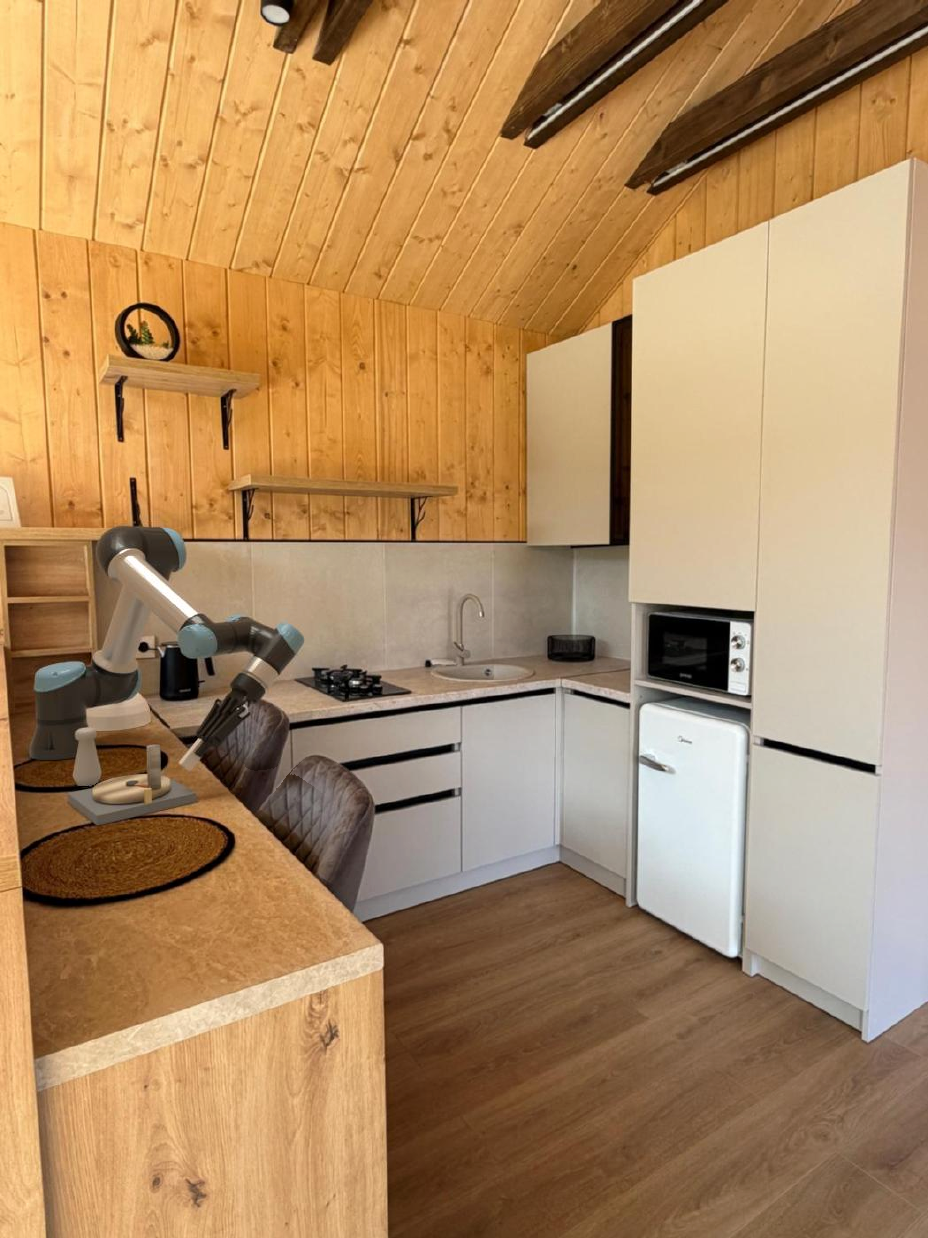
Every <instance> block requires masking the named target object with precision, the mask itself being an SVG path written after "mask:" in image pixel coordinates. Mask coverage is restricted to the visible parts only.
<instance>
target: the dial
mask: <svg viewBox="0 0 928 1238" xmlns="http://www.w3.org/2000/svg"><path fill="white" fill-rule="evenodd" d="M161 764H162V763H161V745H160V744H150V745H147V746H146V773H142V774H141V773H140V774H137V773H136V774H128V775H123V776H117V777H112V778H109V779H108V778H107V780H103V781H100V782H98V783H97V784H96V785H94V786H92V788H93V798H94V800H96V801H98V802H102V803H109V804H125V803H135V802H141V801H144V789H146V788H151V789H152V799H154V798H157V797H159V796H162V795H164V794H166V793H167V792H168V791H169V790H170V779H171V778H170V777H169V778H170V779H169V778H167V777H168V776H167V777H165V776H166V775H165V776H162V775H161V774H162V773H161V771H162V769H161V768H162V767H161Z"/></svg>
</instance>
